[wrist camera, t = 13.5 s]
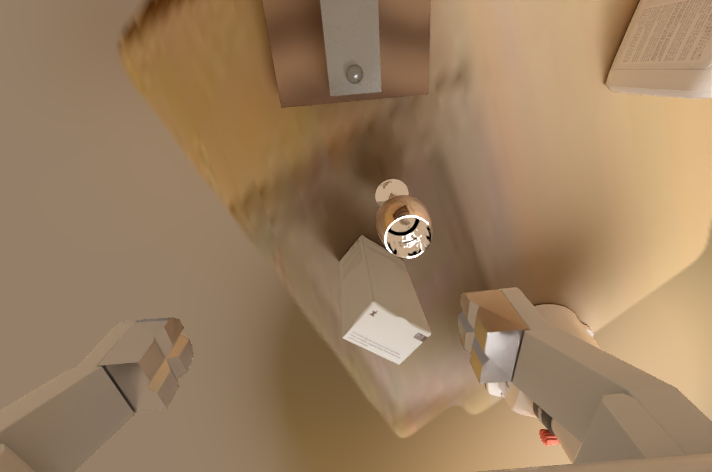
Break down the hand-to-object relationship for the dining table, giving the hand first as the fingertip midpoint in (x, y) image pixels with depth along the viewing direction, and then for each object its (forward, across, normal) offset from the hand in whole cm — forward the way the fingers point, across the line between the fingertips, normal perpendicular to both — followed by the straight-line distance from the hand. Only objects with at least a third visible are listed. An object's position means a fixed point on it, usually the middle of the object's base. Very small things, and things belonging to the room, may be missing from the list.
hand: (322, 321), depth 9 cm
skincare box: (+31, -3, +18) cm, 36 cm away
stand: (+31, -2, -10) cm, 33 cm away
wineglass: (+31, -6, +8) cm, 33 cm away
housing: (+27, -2, -10) cm, 29 cm away
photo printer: (+31, -33, -7) cm, 46 cm away
